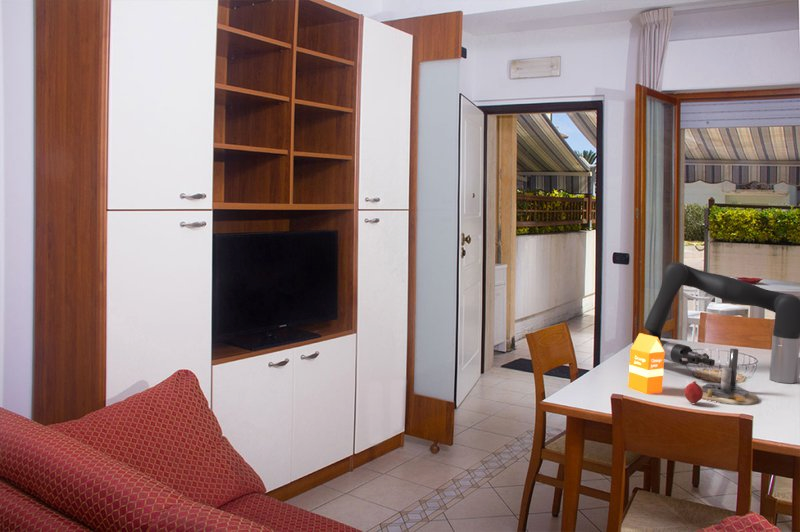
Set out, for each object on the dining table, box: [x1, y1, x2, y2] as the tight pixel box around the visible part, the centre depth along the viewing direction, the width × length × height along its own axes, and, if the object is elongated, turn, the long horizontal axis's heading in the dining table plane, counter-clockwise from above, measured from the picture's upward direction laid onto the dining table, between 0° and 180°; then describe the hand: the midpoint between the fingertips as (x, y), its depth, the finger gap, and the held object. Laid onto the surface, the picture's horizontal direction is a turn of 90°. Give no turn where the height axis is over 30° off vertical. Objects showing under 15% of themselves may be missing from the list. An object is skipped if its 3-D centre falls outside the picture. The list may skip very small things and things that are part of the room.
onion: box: [683, 380, 703, 404], centre depth 241 cm, size 6×6×8 cm
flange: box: [702, 348, 750, 401], centre depth 250 cm, size 15×18×14 cm
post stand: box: [699, 366, 759, 406], centre depth 251 cm, size 21×21×10 cm
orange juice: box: [627, 332, 665, 395], centre depth 256 cm, size 8×9×20 cm
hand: (713, 363), depth 264 cm, fingers closed
